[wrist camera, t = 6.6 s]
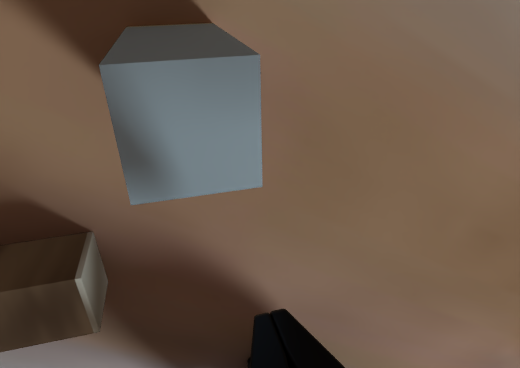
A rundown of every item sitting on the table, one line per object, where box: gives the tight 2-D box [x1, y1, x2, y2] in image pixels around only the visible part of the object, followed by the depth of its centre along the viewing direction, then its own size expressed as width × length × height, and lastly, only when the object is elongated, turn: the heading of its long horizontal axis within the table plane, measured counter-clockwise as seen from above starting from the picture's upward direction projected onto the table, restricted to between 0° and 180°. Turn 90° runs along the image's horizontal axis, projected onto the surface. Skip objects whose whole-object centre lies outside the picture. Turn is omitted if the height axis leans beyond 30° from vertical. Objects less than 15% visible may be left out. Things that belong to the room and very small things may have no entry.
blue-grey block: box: [99, 23, 262, 205], centre depth 14 cm, size 4×4×10 cm
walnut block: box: [0, 232, 108, 352], centre depth 20 cm, size 4×4×10 cm
